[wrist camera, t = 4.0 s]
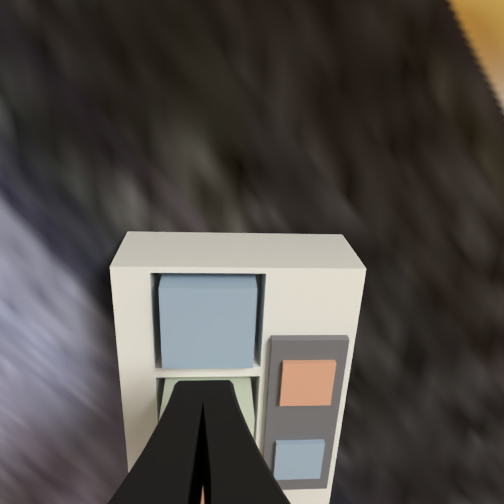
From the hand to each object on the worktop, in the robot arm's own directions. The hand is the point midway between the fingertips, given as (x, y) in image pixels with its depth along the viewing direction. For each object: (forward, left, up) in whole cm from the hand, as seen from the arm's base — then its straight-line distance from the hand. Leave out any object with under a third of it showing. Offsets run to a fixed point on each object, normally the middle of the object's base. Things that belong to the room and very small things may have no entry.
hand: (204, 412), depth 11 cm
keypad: (+1, -4, -7) cm, 8 cm away
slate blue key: (0, 0, -6) cm, 6 cm away
